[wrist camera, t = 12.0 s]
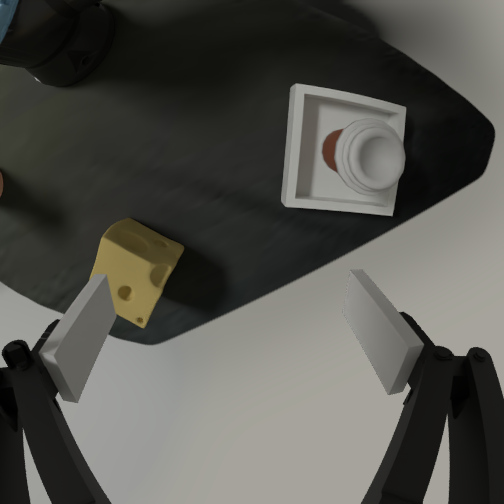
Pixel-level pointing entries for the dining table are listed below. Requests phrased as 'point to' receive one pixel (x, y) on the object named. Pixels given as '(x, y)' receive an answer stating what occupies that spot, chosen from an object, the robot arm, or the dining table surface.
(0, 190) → the salt shaker
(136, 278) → the cheese
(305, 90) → the white square tray
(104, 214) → the dining table surface
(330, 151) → the coffee cup
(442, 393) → the robot arm
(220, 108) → the dining table surface
